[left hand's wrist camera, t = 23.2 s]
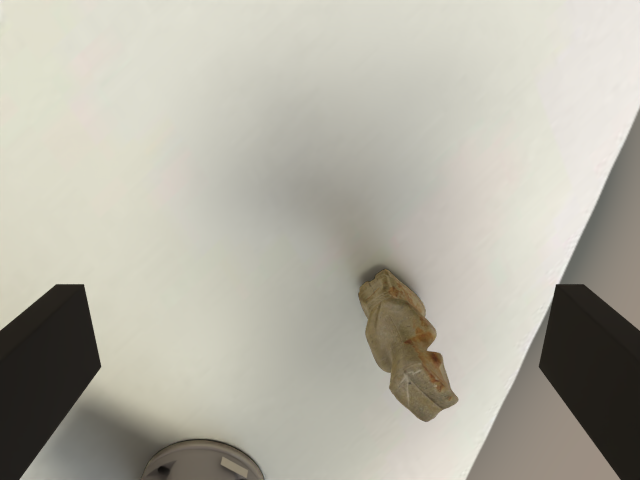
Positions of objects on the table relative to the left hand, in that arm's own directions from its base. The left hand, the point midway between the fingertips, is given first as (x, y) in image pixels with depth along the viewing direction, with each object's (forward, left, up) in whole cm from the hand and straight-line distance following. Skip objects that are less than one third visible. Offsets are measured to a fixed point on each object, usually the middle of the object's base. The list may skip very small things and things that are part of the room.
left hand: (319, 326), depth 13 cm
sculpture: (-13, -10, -31) cm, 35 cm away
